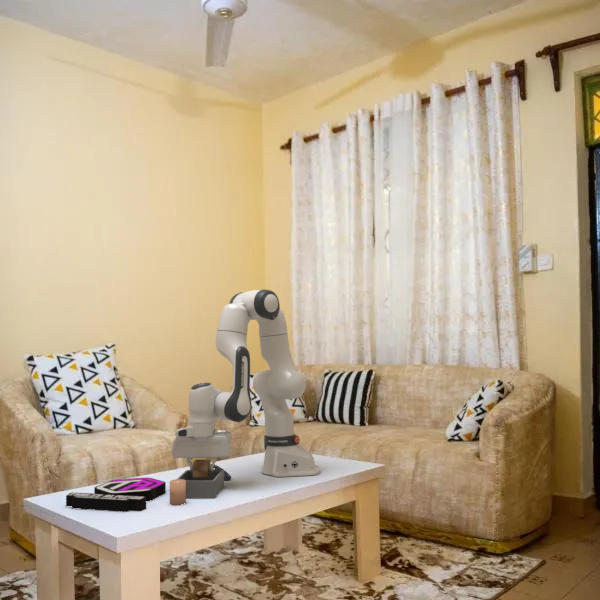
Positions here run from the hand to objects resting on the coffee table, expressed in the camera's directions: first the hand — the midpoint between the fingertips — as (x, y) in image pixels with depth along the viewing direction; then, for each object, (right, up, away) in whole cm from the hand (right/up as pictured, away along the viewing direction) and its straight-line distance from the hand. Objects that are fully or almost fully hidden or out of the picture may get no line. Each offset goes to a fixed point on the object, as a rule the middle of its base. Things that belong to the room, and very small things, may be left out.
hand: (201, 470), depth 221 cm
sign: (-24, -7, -10) cm, 27 cm away
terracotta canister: (-5, -5, -18) cm, 20 cm away
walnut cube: (0, -2, 0) cm, 2 cm away
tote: (0, -6, -4) cm, 7 cm away
